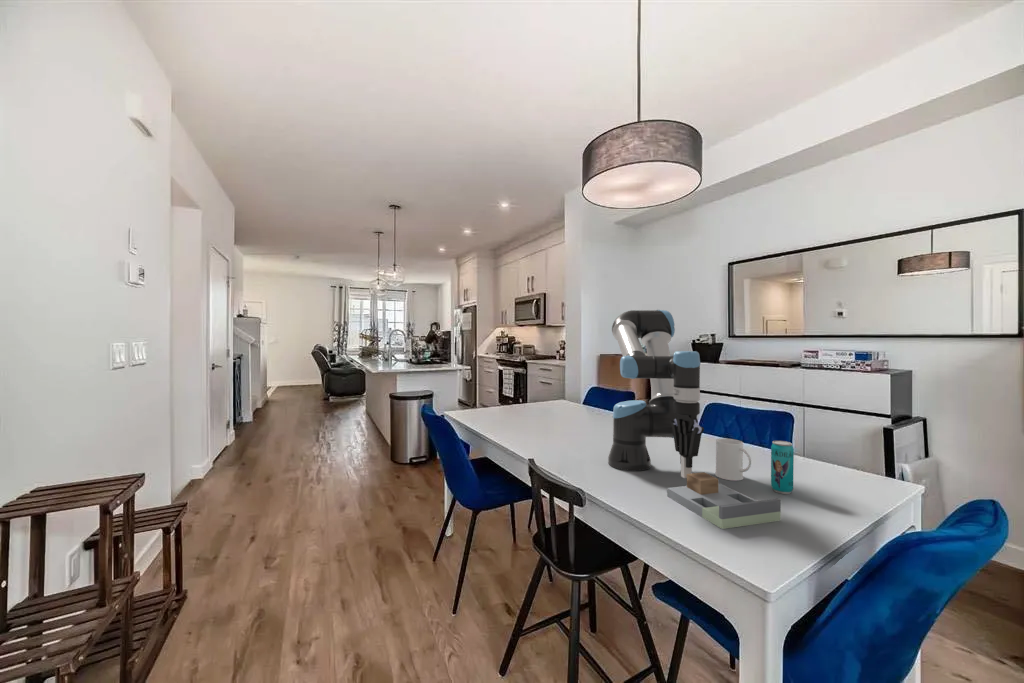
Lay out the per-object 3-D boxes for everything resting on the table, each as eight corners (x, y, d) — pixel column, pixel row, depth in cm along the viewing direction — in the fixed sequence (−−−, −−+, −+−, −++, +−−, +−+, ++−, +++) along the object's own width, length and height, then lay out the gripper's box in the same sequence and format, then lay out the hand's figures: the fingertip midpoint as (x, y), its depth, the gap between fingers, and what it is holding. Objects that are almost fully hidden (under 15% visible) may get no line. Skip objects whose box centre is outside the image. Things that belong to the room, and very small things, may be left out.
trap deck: (667, 495, 124) (667, 477, 124) (718, 490, 129) (718, 472, 129) (721, 529, 103) (722, 507, 103) (780, 520, 108) (780, 499, 108)
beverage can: (768, 491, 128) (769, 442, 127) (773, 486, 132) (773, 439, 132) (791, 496, 124) (791, 446, 124) (794, 491, 128) (795, 442, 128)
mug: (758, 481, 136) (758, 445, 136) (739, 485, 133) (739, 447, 133) (727, 471, 147) (727, 437, 147) (709, 474, 144) (709, 439, 144)
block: (686, 487, 125) (686, 473, 125) (703, 485, 126) (703, 472, 126) (700, 494, 119) (700, 480, 119) (718, 492, 121) (718, 478, 121)
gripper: (663, 398, 135) (663, 471, 135) (690, 404, 122) (689, 485, 122) (683, 397, 137) (683, 469, 137) (711, 403, 124) (711, 482, 124)
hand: (686, 476), depth 130 cm, fingers closed
